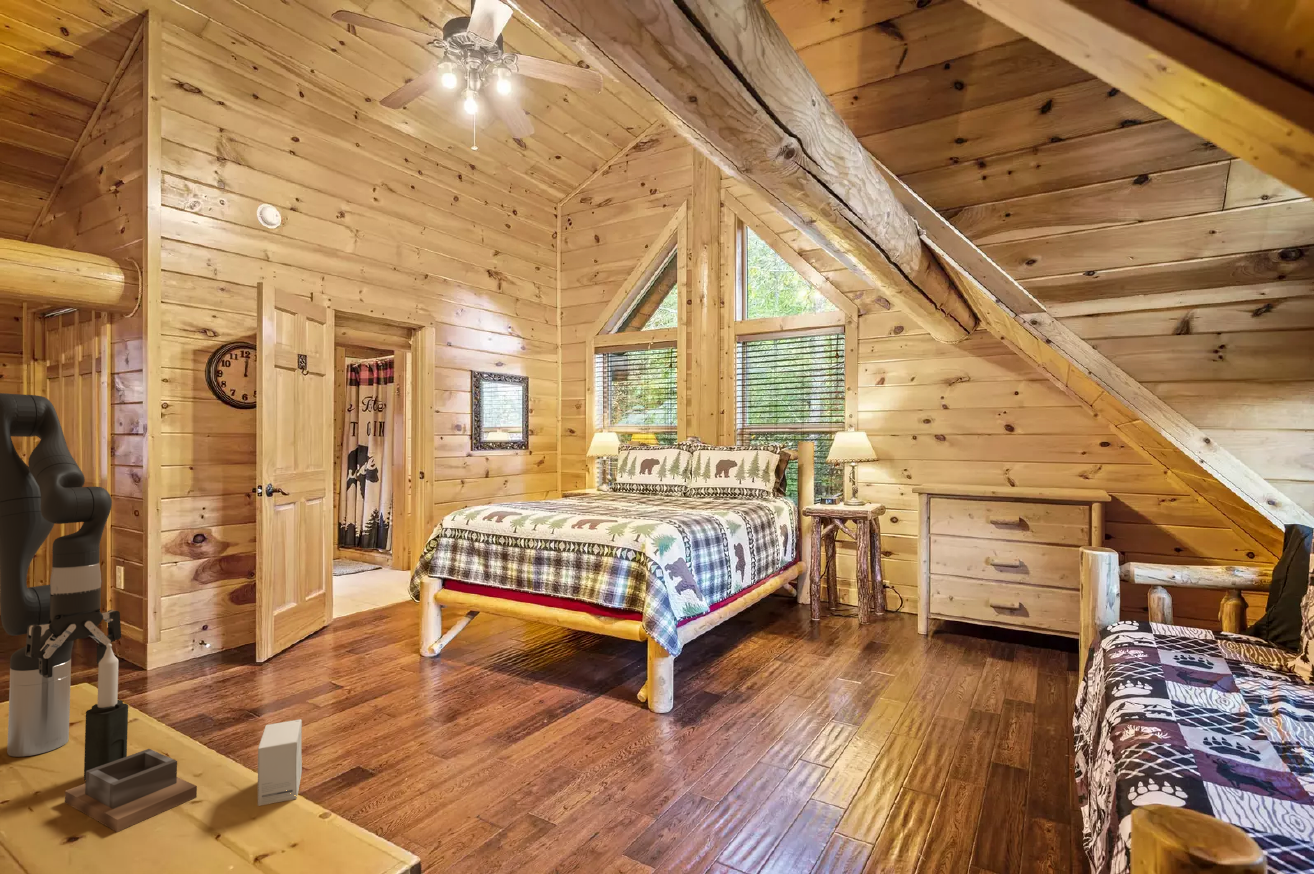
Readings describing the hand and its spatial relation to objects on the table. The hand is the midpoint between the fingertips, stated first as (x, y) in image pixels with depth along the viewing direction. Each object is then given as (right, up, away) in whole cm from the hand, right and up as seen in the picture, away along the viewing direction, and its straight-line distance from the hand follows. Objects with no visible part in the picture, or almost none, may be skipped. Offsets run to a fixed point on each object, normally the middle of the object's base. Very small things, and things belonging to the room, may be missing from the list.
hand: (75, 670), depth 128 cm
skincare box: (+45, -19, -8) cm, 50 cm away
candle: (+10, -19, -5) cm, 21 cm away
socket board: (+21, -19, -13) cm, 31 cm away
